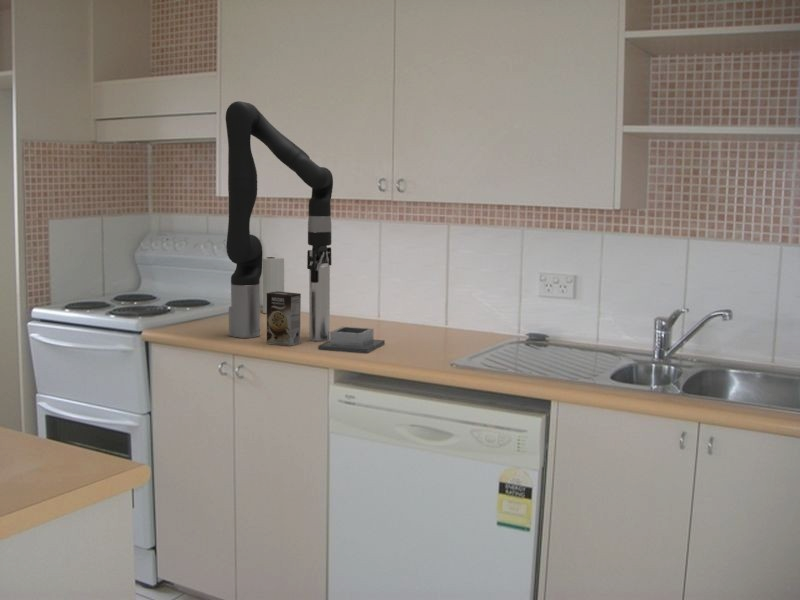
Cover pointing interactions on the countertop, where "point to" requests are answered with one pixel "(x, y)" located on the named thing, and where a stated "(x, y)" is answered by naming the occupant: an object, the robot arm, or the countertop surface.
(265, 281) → the paper towel roll
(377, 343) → the board
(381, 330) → the countertop surface
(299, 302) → the coffee box
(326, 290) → the silver metal cylinder
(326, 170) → the robot arm
